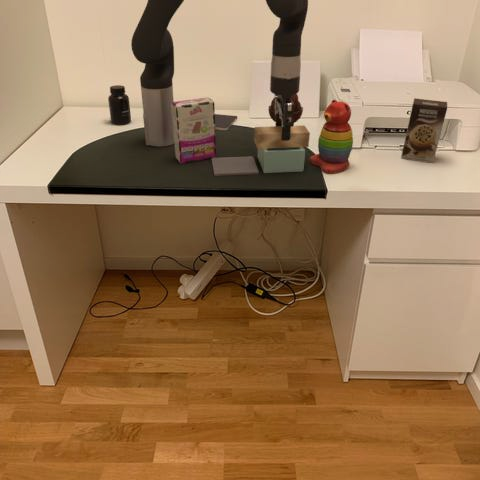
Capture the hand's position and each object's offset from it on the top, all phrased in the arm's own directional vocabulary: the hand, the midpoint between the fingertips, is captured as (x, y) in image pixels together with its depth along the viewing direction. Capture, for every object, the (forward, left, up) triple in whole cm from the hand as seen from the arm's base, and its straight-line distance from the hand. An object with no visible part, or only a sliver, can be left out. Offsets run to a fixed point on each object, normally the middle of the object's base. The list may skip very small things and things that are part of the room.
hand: (282, 134), depth 128 cm
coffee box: (+41, +1, -9) cm, 42 cm away
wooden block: (0, 0, -3) cm, 3 cm away
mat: (-13, 0, -9) cm, 16 cm away
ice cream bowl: (+5, +21, -9) cm, 23 cm away
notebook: (-20, +39, -9) cm, 45 cm away
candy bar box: (-24, +7, -9) cm, 26 cm away
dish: (0, 0, -9) cm, 9 cm away
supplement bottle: (-48, +41, -9) cm, 64 cm away
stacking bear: (+14, -2, -9) cm, 17 cm away
